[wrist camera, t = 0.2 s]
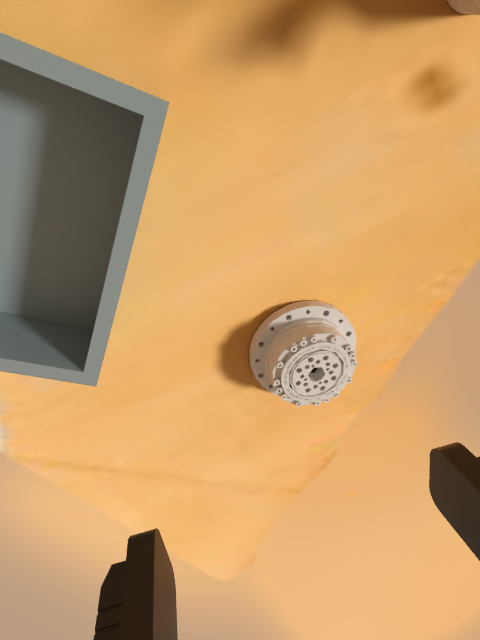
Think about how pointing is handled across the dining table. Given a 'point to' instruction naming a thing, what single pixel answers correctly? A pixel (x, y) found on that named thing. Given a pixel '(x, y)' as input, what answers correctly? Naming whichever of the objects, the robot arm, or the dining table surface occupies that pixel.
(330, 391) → the mechanical component
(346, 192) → the dining table surface
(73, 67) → the bin
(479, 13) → the house plant
